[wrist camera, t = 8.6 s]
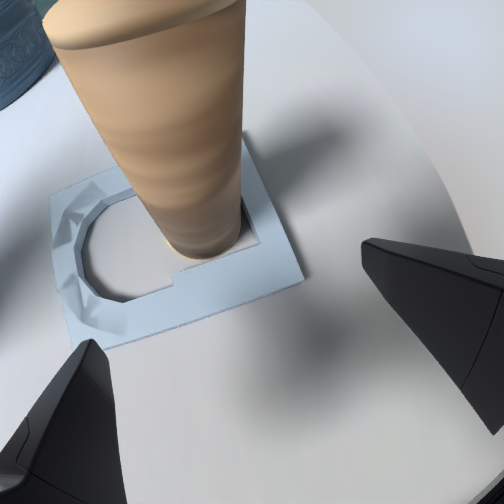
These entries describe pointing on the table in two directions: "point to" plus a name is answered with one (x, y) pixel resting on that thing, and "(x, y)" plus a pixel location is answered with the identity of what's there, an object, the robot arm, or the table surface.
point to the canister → (21, 48)
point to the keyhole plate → (184, 283)
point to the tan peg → (164, 105)
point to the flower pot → (44, 6)
